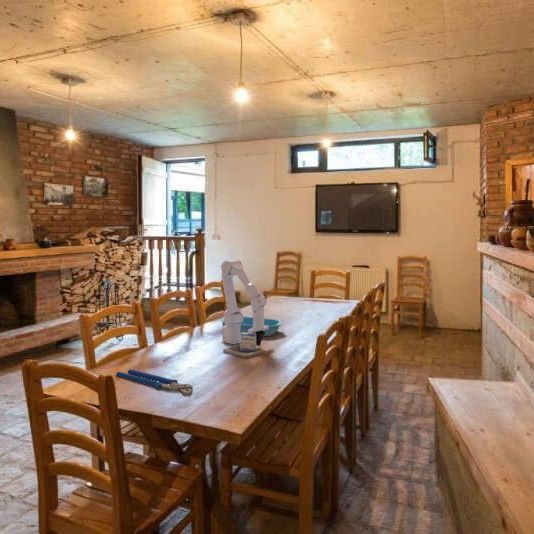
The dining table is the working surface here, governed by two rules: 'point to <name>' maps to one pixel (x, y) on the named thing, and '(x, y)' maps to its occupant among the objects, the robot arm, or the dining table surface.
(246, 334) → the medicine box
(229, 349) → the frame
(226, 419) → the dining table surface
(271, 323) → the casserole dish
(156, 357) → the dining table surface
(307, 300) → the dining table surface
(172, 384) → the pliers
